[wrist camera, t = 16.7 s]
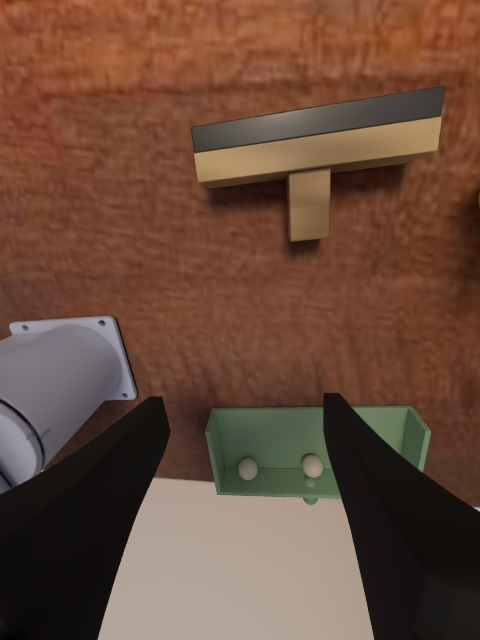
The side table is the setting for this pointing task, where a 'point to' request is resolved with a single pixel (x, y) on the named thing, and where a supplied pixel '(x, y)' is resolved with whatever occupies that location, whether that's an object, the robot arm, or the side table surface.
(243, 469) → the crumb
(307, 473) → the crumb
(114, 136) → the side table surface
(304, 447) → the dustpan
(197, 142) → the brush
